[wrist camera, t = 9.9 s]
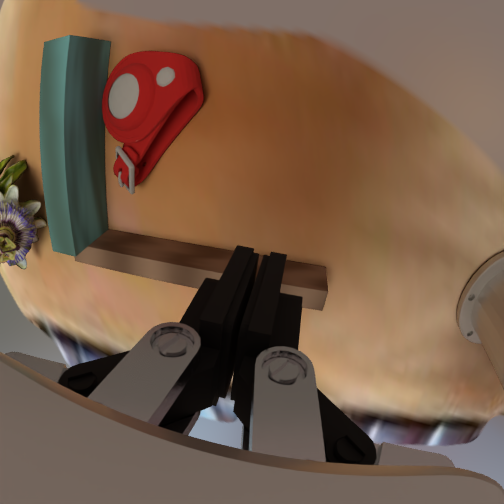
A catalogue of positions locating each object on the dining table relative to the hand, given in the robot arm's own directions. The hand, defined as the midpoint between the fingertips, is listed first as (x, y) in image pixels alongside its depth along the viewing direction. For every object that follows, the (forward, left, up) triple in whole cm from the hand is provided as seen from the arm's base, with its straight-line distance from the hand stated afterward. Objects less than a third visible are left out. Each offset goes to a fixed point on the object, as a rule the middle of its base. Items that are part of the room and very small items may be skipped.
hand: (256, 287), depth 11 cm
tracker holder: (+13, -4, -17) cm, 21 cm away
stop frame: (+7, -1, -16) cm, 18 cm away
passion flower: (+31, +6, -17) cm, 35 cm away
